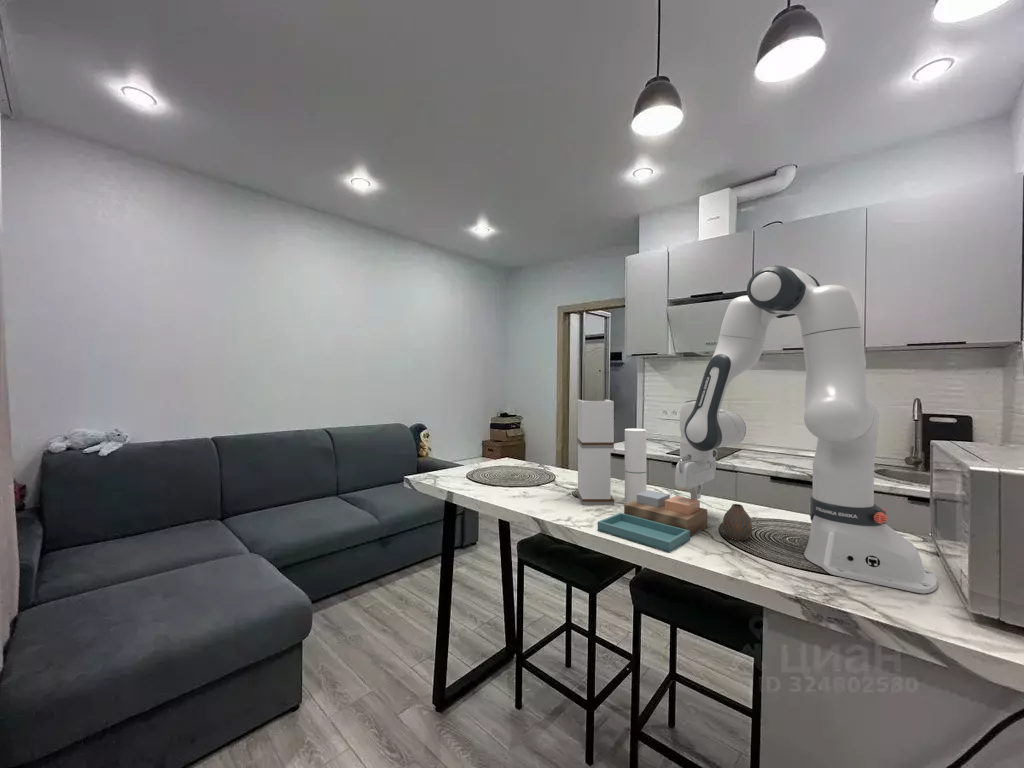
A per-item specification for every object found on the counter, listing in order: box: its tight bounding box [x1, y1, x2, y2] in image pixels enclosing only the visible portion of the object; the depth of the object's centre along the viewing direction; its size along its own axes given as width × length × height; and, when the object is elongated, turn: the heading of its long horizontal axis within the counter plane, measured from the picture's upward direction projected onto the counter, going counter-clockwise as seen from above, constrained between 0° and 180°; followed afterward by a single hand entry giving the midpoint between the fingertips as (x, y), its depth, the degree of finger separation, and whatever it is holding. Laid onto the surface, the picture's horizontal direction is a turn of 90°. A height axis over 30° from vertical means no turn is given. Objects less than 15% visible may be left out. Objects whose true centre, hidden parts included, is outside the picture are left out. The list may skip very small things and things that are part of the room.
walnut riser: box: [623, 500, 708, 538], centre depth 123 cm, size 19×13×5 cm
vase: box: [722, 503, 753, 541], centre depth 112 cm, size 7×7×9 cm
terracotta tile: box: [665, 495, 701, 515], centre depth 121 cm, size 7×7×2 cm
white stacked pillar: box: [577, 399, 615, 506], centre depth 147 cm, size 11×11×35 cm
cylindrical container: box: [624, 427, 647, 504], centre depth 145 cm, size 7×7×25 cm
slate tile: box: [637, 489, 671, 508], centre depth 127 cm, size 7×7×2 cm
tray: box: [597, 512, 691, 553], centre depth 114 cm, size 21×12×2 cm, turn 43°
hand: (695, 499), depth 127 cm, fingers closed
